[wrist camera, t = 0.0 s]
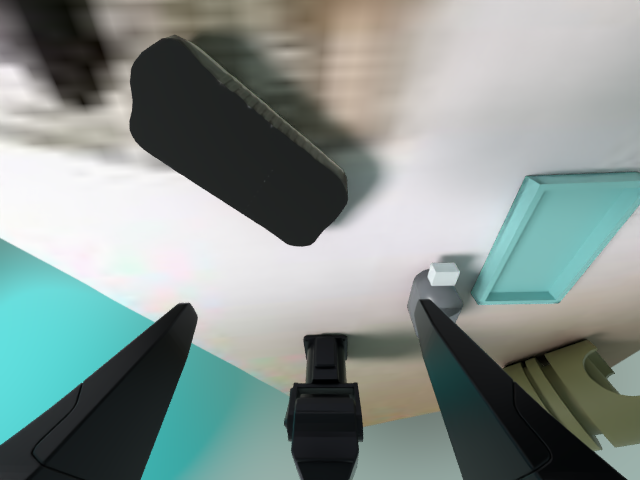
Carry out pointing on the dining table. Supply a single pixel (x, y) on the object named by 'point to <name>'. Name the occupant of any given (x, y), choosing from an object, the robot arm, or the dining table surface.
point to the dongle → (437, 290)
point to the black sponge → (232, 142)
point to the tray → (554, 235)
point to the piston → (581, 395)
